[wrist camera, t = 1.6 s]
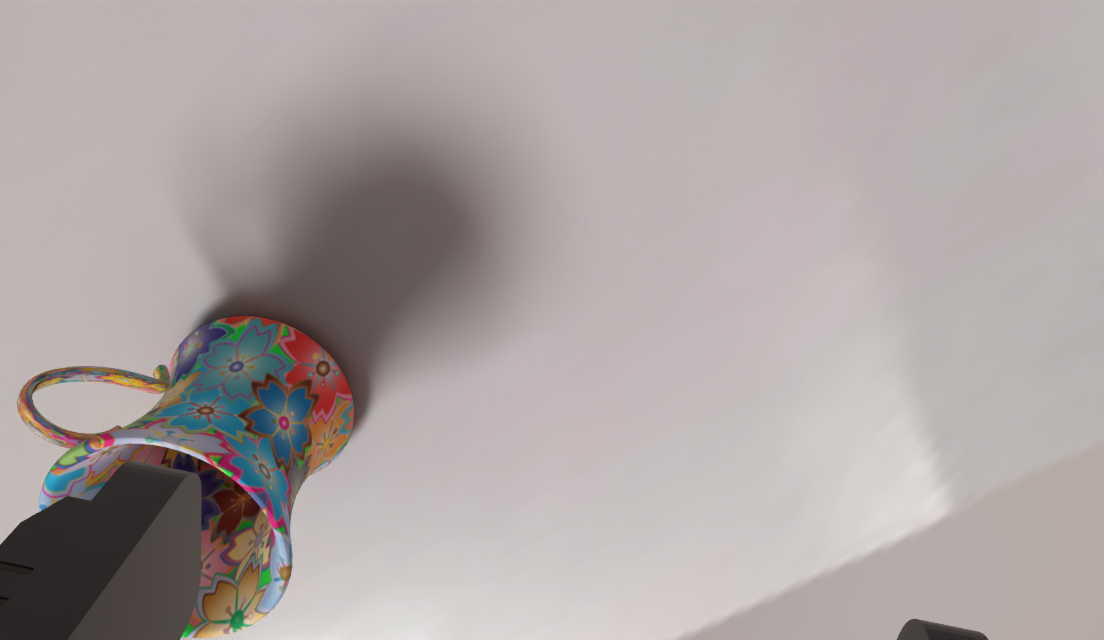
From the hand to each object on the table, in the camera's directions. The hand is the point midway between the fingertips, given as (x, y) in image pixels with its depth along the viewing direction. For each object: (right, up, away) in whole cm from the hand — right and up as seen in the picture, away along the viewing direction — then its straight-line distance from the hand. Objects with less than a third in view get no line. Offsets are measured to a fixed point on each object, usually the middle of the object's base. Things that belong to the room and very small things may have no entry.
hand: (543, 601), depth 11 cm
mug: (-14, +1, +33) cm, 36 cm away
